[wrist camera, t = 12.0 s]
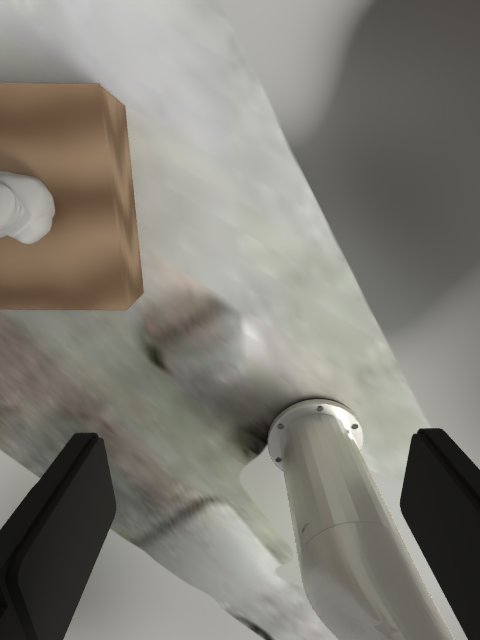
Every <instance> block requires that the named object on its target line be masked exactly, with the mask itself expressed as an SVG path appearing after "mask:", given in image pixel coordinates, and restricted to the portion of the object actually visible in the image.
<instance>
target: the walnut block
mask: <svg viewBox="0 0 480 640" xmlns="http://www.w3.org/2000/svg"><path fill="white" fill-rule="evenodd" d="M0 171H3V172H11V173H14V174H21V175H27V176H32V177H35V178H37V179H39V180H40V181H41V182H42V183H43V184H44V185H45V186H46V188H47V189H48V190H49V192H50V193H51V194H52V196H53V200H54V206H55V215H54V217H53V218H52V226H51V229H50V231H49V232H48V233H47V234H46V235H45V236H44V237H42V238H41V239H40V240H39V241H37V242H34V243H32V244H25V243H22V242H20V241H18V240H17V239H15V238H12V237H10V236H8V235H7V236H5V237H1V238H0V309H18V310H127V309H128V308H129V307H130V306H131V305H132V304H133V303H134V302H135V301H136V300H137V299H138V298H139V297H140V296H141V295H142V294H143V293H144V291H143V281H142V271H141V261H140V251H139V241H138V231H137V221H136V211H135V201H134V191H133V181H132V171H131V161H130V151H129V141H128V131H127V121H126V111H125V105H123V104H122V103H121V102H120V101H119V100H117V99H116V98H115V97H114V96H112V95H111V94H110V93H109V92H108V91H106V90H105V89H104V88H103V87H102V86H100V85H99V84H68V83H0Z"/></svg>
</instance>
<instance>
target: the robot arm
mask: <svg viewBox="0 0 480 640" xmlns="http://www.w3.org/2000/svg"><path fill="white" fill-rule="evenodd" d="M363 439H364V435H363V429H362V427H361V425H360V422H359V421H358V419H357V417H356V416H355V414H354V413H353V412H352V411H351V410H350V409H348V408H347V407H345V406H344V405H342V404H340V403H337V402H335V401H331V400H326V399H312V400H306V401H302V402H298V403H296V404H294V405H292V406H290V407H288V408H287V409H285V410H284V411H282V412H281V413H280V414H279V415H278V416H277V417H276V418H275V420H274V421H273V423H272V424H271V427H270V429H269V432H268V438H267V441H268V449H269V454H270V456H271V459H272V460H273V462H274V463H275V464H276V466H277V467H279V468H280V469H281V470H282V471H284V476H285V482H286V488H287V494H288V500H289V506H290V512H291V517H292V524H293V530H294V536H295V542H296V548H297V554H298V560H299V566H300V571H301V576H302V582H303V586H304V590H305V593H306V595H307V598H308V600H309V602H310V604H311V606H312V608H313V610H314V611H315V613H316V614H317V616H318V617H319V618H320V620H321V621H322V622H323V623H324V625H325V626H326V627H327V628H328V629H329V630H330V631H331V632H332V633H333V634H334V635H335V636H336V638H337V639H338V640H455V638H454V636H453V635H452V633H451V631H450V630H449V628H448V626H447V624H446V623H445V621H444V619H443V617H442V616H441V614H440V612H439V610H438V608H437V606H436V605H435V603H434V601H433V599H432V598H431V595H430V593H429V592H428V590H427V588H426V586H425V584H424V582H423V580H422V578H421V576H420V574H419V572H418V570H417V568H416V566H415V564H414V562H413V560H412V558H411V556H410V553H409V551H408V549H407V547H406V545H405V543H404V541H403V539H402V537H401V535H400V533H399V531H398V529H397V527H396V525H395V522H394V520H393V518H392V516H391V514H390V512H389V510H388V508H387V506H386V504H385V502H384V500H383V498H382V496H381V494H380V491H379V489H378V488H377V485H376V483H375V481H374V479H373V477H372V475H371V473H370V471H369V469H368V467H367V465H366V463H365V460H364V458H363V456H362V454H361V449H362V446H363ZM400 507H401V512H402V514H403V517H404V518H405V520H406V522H407V524H408V526H409V528H410V529H411V532H412V534H413V535H414V537H415V539H416V541H417V543H418V545H419V547H420V549H421V551H422V553H423V555H424V557H425V558H426V560H427V562H428V564H429V566H430V568H431V570H432V572H433V574H434V575H435V577H436V579H437V581H438V583H439V585H440V587H441V589H442V591H443V593H444V595H445V597H446V598H447V600H448V602H449V604H450V606H451V608H452V610H453V612H454V614H455V616H456V617H457V619H458V621H459V623H460V625H461V627H462V629H463V631H464V632H465V635H466V637H467V638H468V640H480V470H479V469H478V467H477V466H476V465H475V464H474V463H473V462H472V461H471V460H470V459H469V458H468V456H467V455H466V454H465V453H464V452H463V451H462V450H461V449H460V448H459V447H458V445H457V444H456V443H455V442H454V441H453V440H452V439H451V438H450V437H449V436H448V434H447V433H446V432H445V431H443V430H442V429H440V428H427V429H419V430H418V432H417V434H413V436H412V439H411V444H410V450H409V455H408V461H407V466H406V472H405V477H404V482H403V488H402V493H401V499H400ZM115 512H116V501H115V496H114V491H113V486H112V481H111V476H110V470H109V465H108V460H107V455H106V450H105V445H104V440H103V439H102V438H99V437H98V435H97V434H96V433H76V434H74V435H73V436H72V438H71V439H70V440H69V442H68V443H67V444H66V446H65V447H64V448H63V450H62V451H61V452H60V454H59V455H58V456H57V458H56V459H55V460H54V462H53V463H52V464H51V465H50V467H49V468H48V469H47V471H46V472H45V473H44V475H43V476H42V477H41V479H40V480H39V481H38V483H36V485H35V486H34V487H33V488H32V489H31V490H30V491H29V493H28V494H27V496H26V497H25V498H24V499H23V501H22V502H21V504H20V505H19V506H18V507H17V509H16V510H15V511H14V513H13V514H12V515H11V517H10V518H9V519H8V521H7V522H6V523H5V524H4V526H3V527H2V529H1V530H0V640H63V639H64V636H65V634H66V632H67V629H68V627H69V624H70V622H71V620H72V617H73V615H74V612H75V610H76V608H77V605H78V603H79V600H80V598H81V596H82V593H83V591H84V589H85V586H86V584H87V581H88V579H89V576H90V574H91V572H92V569H93V567H94V564H95V562H96V560H97V557H98V555H99V552H100V550H101V548H102V545H103V543H104V541H105V538H106V536H107V533H108V531H109V529H110V526H111V524H112V522H113V519H114V516H115Z"/></svg>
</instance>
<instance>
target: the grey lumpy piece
mask: <svg viewBox="0 0 480 640" xmlns="http://www.w3.org/2000/svg"><path fill="white" fill-rule="evenodd" d="M54 215H55V206H54V200H53V196H52V194H51V193H50V192H49V190H48V189H47V188H46V186H45V185H44V184H43V183H42V182H41V181H40V180H39V179H37V178H35V177H32V176H27V175H21V174H14V173H11V172H3V171H0V238H1V237H5V236H7V235H8V236H10V237H12V238H15V239H17V240H18V241H20V242H22V243H25V244H32V243H34V242H37V241H39V240H40V239H41V238H42V237H44V236H45V235H46V234H47V233H48V232H49V231H50V229H51V226H52V218H53V217H54Z"/></svg>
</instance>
